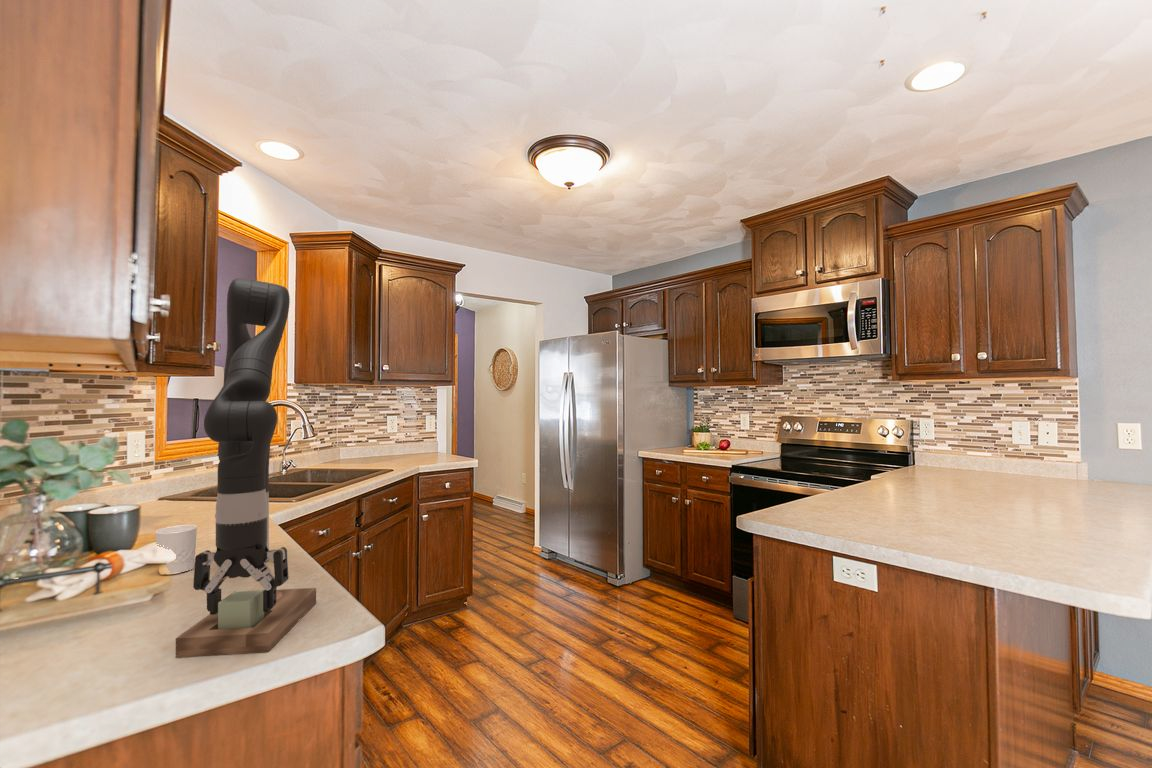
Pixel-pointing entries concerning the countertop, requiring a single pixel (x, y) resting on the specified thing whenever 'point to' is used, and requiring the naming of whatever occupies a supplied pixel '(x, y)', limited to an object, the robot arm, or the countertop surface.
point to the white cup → (179, 545)
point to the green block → (241, 610)
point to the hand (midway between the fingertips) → (241, 611)
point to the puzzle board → (247, 640)
